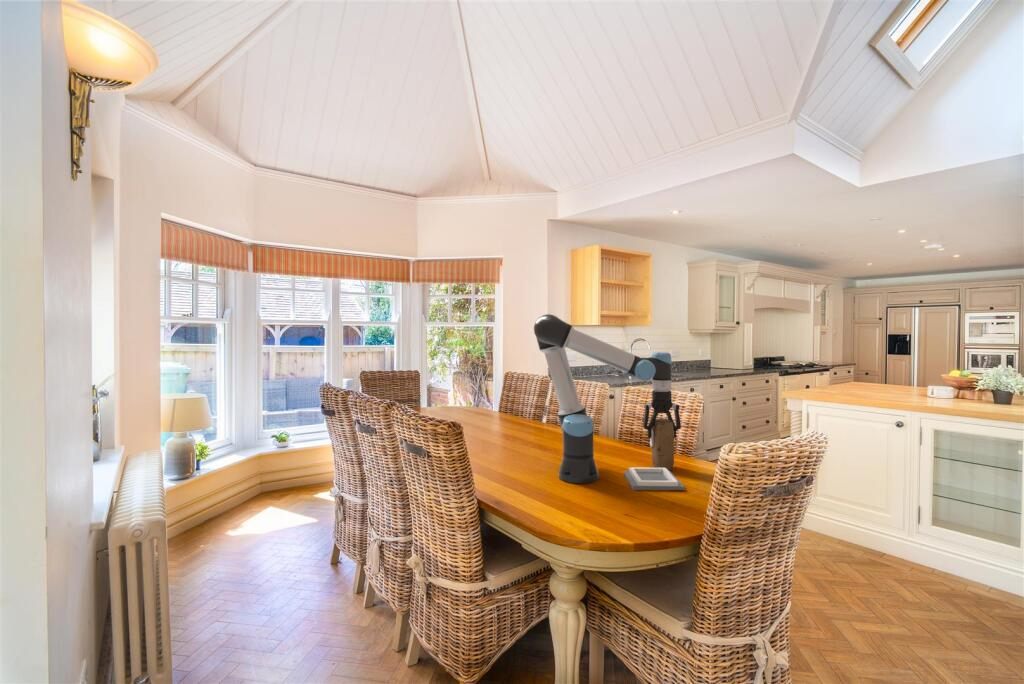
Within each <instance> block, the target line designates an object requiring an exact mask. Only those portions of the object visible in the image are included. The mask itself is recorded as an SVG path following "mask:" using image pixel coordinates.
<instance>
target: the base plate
mask: <svg viewBox="0 0 1024 684" xmlns="http://www.w3.org/2000/svg"><path fill="white" fill-rule="evenodd" d="M624 475H625V476H624ZM623 476H624V478H625V477H626V478H625V480H626V481H627V483H628V482H629V483H628V485H629V484H630V485H629V487H630V486H631V487H630V488H631V491H636V490H684V491H686V490H685V486H684V484H682V482H681V481H680V480H679V479H678V478H677V477H676V476H675V475H674V474H673V472H672V470H669V471H668V470H667V469H666V468H654V467H640V466H639V467H638V466H637V467H635V466H634V467H628V470H623Z"/></svg>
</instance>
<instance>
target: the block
mask: <svg viewBox="0 0 1024 684" xmlns="http://www.w3.org/2000/svg"><path fill="white" fill-rule="evenodd" d="M652 430H653V447H651V462H652V467H653V468H666V469H667V470H668V471H672V470H673V469H674V464H675V438H674V431H673V422H671V421H670V420H669V419H668V418H656V420H655V422H654V425H653V427H652Z"/></svg>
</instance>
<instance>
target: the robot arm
mask: <svg viewBox="0 0 1024 684" xmlns="http://www.w3.org/2000/svg"><path fill="white" fill-rule="evenodd" d="M533 332H534V336H535V337H536V342H537V345H538V348H539V351H540V352H541V353H544V357H545V360H546V363H547V364H546V365H547V367H548V371H549V375H550V378H551V382H552V385H553V389H554V392H555V396H556V400H557V403H558V407H559V410H558V412H557V417H558V420H559V424H560V428H561V432H562V451H563V453H562V460H561V464H560V466H559V470H558V479H560V480H561V481H564V482H566V483H571V484H589V483H590V484H591V483H593V482H596V481H597V480H599V470H598V467H597V464H596V461H595V458H594V448H595V447H594V429H595V424H594V420H593V418H592V417H591V416H589V415H588V414H587V411H586V407H585V406H584V405H583V404H581V402H580V398H579V395H578V392H577V388H576V384H575V381H574V377H573V374H572V370H571V367H570V362H569V360H568V356H567V352H566V348H567V349H570V350H572V351H574V352H577V353H578V354H581V355H583V356H586V357H589V358H591V359H593V360H595V361H598V362H600V363H603V364H604V365H607V366H610V367H612V368H615V369H616V370H618V371H621V373H622V375H624V376H625V377H635V378H637V379H639V380H641V381H649V380H651V383H652V384H651V389H652V391H651V393H652V394H651V395H652V396H651V399H652V400H651V402H650V403H648V404H647V403H645V404H644V405H643V406H644V415H643V424H642V428H644V430H647V438H648V439H649V445H650V447H651V448H652V447H653V430H652V427H653V425H654V422H655V420H656V419H657V417H658V416H659V414H665V415H666V417H667V418H666V419H669V420H670V421H671V422H673V431H674V439H677V431H678V430H681V429H682V424H681V417H680V411H679V410H680V407H681V406H680V404H677V403H673V401H672V391H671V390H672V364H673V363H672V355H671V353H670V352H664V351H663V352H662V351H660V352H658V351H656V352H652V355H651V357H640V356H638V355H635V354H633V353H631V352H628V351H626V350H623V349H621V348H619V347H616V346H614V345H613V344H609V343H607V342H606V341H603V340H600V339H599V338H596V337H593V336H591V335H589V334H586V333H584V332H581V331H579V330H577V329H575V327H574V326H573V325H572V324H570V323H568V322H566V321H564V320H562V319H561V318H559V317H558V316H556V315H554V314H549V313H548V314H543V315H541V316H539V317H538V318H537V319H536V320H535V323H534V326H533ZM651 408H652V409H653V411H652V414H651V418H649V417H650V410H651ZM671 409H673V413H674V418H675V419H673V417H672V415H671V411H670V410H671ZM649 419H650V420H649ZM674 420H675V422H674Z"/></svg>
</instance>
